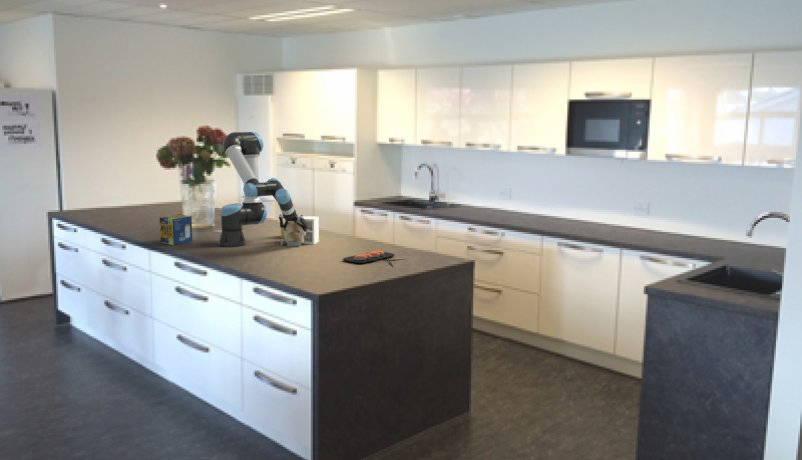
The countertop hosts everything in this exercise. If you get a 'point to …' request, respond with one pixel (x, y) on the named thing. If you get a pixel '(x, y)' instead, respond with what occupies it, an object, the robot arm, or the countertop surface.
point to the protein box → (176, 229)
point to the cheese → (283, 232)
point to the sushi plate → (370, 257)
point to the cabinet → (307, 232)
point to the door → (294, 232)
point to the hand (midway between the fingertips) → (297, 233)
